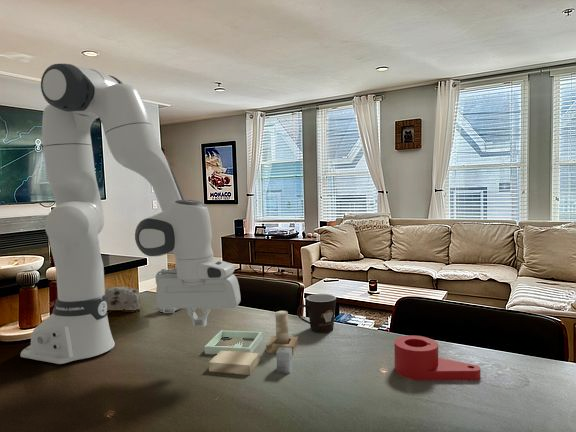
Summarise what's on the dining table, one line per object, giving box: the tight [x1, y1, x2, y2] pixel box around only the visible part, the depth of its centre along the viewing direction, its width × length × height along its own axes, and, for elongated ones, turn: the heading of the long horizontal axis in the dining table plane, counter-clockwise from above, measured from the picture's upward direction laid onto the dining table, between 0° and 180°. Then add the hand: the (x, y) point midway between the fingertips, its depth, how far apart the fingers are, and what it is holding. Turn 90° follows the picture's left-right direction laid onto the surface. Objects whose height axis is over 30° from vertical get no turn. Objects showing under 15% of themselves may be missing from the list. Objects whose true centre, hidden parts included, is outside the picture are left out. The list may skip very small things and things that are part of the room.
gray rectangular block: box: [275, 347, 293, 374], centre depth 96 cm, size 3×3×5 cm
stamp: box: [156, 306, 180, 314], centre depth 144 cm, size 9×7×8 cm
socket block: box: [265, 335, 299, 355], centre depth 109 cm, size 7×7×2 cm
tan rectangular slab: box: [208, 351, 261, 376], centre depth 99 cm, size 10×7×3 cm
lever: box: [393, 335, 481, 381], centre depth 93 cm, size 18×9×7 cm, turn 73°
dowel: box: [274, 310, 290, 344], centre depth 108 cm, size 3×3×10 cm
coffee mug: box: [296, 293, 337, 334], centre depth 122 cm, size 12×9×10 cm
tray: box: [204, 329, 263, 355], centre depth 111 cm, size 12×12×2 cm
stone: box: [105, 286, 141, 310], centre depth 145 cm, size 13×6×10 cm, turn 76°
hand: (200, 325), depth 100 cm, fingers closed
